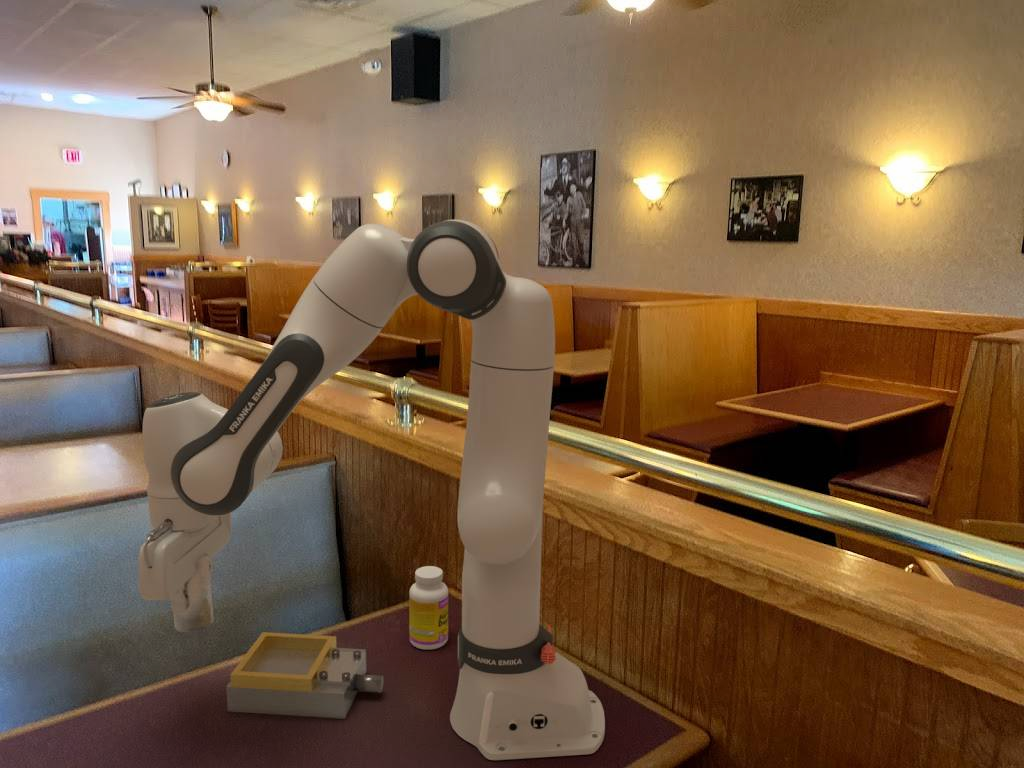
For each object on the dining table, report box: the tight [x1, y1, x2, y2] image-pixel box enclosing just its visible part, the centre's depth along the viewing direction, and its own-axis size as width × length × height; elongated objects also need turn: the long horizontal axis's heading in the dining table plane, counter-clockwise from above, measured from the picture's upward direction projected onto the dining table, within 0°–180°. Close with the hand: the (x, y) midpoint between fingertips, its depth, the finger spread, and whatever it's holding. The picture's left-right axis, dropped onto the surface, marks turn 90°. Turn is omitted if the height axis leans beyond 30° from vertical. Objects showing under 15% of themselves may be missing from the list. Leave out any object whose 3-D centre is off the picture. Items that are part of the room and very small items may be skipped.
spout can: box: [172, 554, 214, 633], centre depth 111 cm, size 7×5×11 cm
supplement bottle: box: [408, 565, 449, 651], centre depth 132 cm, size 7×7×13 cm
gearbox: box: [225, 631, 384, 720], centre depth 118 cm, size 22×12×6 cm, turn 86°
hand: (192, 599), depth 111 cm, fingers closed on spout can, 5 cm apart
